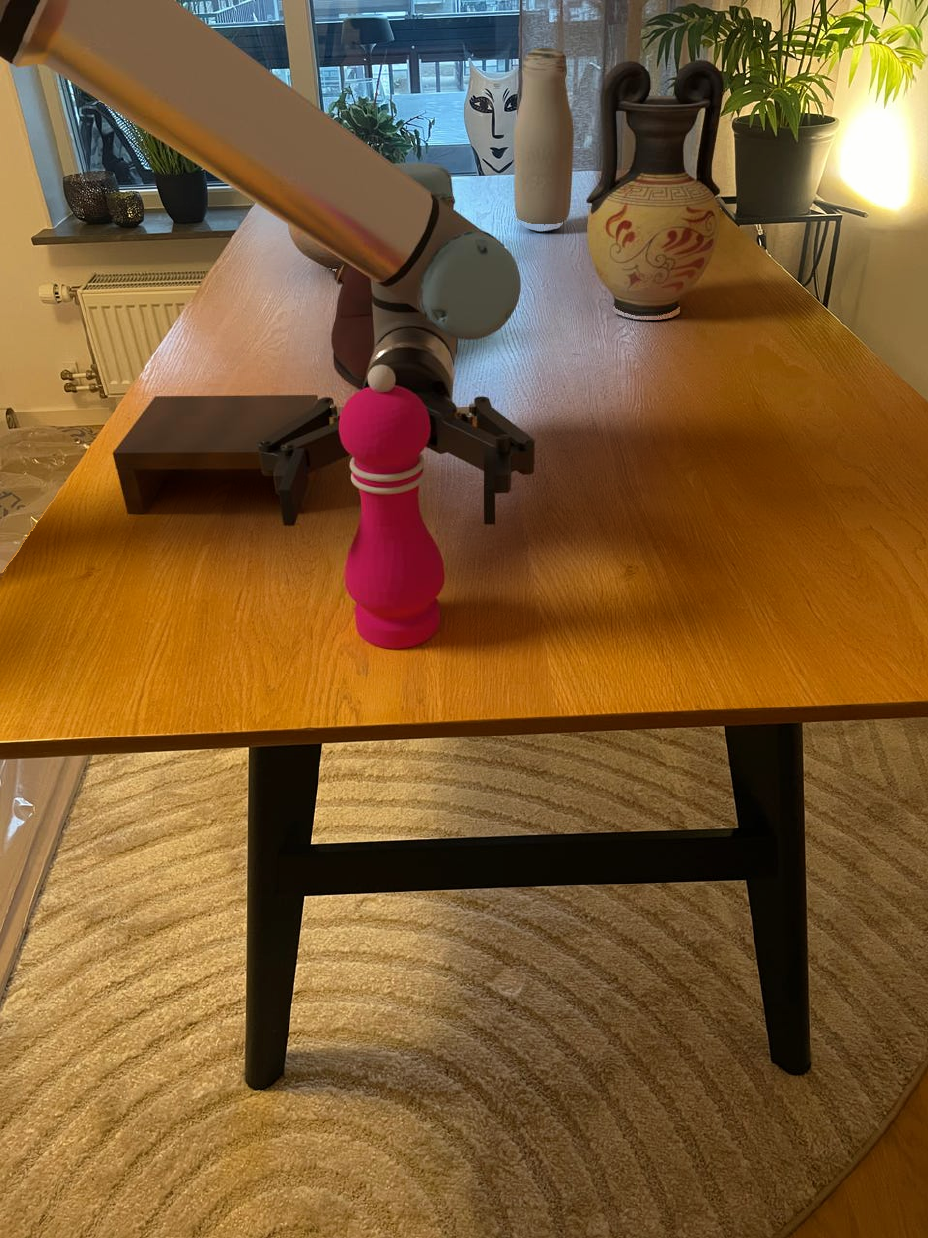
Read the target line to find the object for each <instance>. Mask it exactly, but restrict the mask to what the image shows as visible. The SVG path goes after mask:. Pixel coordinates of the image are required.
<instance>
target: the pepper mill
mask: <svg viewBox="0 0 928 1238" xmlns="http://www.w3.org/2000/svg"><path fill="white" fill-rule="evenodd" d="M395 381H396V379H395V374H394V372H393V370H392V369H391V368H389V367H388V366H386V365H377V366H375V367H373V368H372V369H371V370H370V372H369V374H368V384H369V386H370V387H367V388H364V389H362V388H361V389H360V390H358V391H357V392H355V393H354V394H353V395H352V396H350V397H349V398H348V399H347V400H346V402H345V403H344V405H343V409H342V411H341V415H340V420H339V434H340V438H341V442H342V444H343V446H344V448H345V449H346V451H347V452H348V453H349V454H350V455H349V456H351V457H352V458H350V461H349V469H350V470H351V474H350V480H351V482H352V483H351V484H353V486H355V487H356V488H357V489H358V492H359V496H360V504H361V505H360V507H361V508H360V509H361V510H360V511H361V513H360V518H359V524H358V526H357V529H356V532H355V534H354V537H353V540H352V542H351V545H350V547H349V550H348V553H347V555H346V561H345V565H344V584H345V589H346V591H347V593H348V595H349V596H350V598H351V599H352V600H353V601H354V602H355V607H354V618H355V628H356V629H355V630H356V631H357V634H359V636H360V637H361V639H363V641H365V642H366V643H369V644H371V645H373V646H376V647H380V648H383V649H395V650H396V649H397V650H398V649H407V648H411V647H415V646H418V645H420V644H423V643H425V642H427V641H429V640H430V639H431V638H433V636H434V635H435V634H437V632H438V630H439V628H440V626H441V625H440V624H441V617H440V616H441V615H440V613H441V612H440V603H439V599H438V596H439V595H440V594H441V592H442V591H443V588H444V585H445V579H446V573H445V567H444V560H443V557H442V554H441V552H440V549H439V547H438V544H437V543H436V541H435V539H434V537H433V536H432V534H431V533H430V531H429V530H428V527H427V525H426V524H425V522H424V519H423V517H422V514H421V510H420V502H419V490H420V489H419V488H420V485H421V484H422V483H423V481H424V480H425V478H426V470H425V469H424V466H425V464H426V462H425V457H424V456H423V454H422V452H423V451H424V450H425V448H427V447H426V445H427V443H428V440H429V438H430V431H431V426H430V418H429V414H428V412H427V409H426V407H425V405H424V403H423V402H422V401H421V399H420V398H419V397H418V396H417V395H416V394H414V393H413V392H411V391H410V390H408V389H405V388H403V387H399V386H395Z"/></svg>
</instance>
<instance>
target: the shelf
mask: <svg viewBox="0 0 928 1238" xmlns="http://www.w3.org/2000/svg"><path fill="white" fill-rule="evenodd" d="M318 400H319V395H318V394H291V395H290V394H276V395H275V394H274V395H272V394H271V395H270V394H268V395H264V394H263V395H262V394H261V395H260V394H259V395H258V394H257V395H256V394H255V395H251V394H249V395H155V396H154V397H153V399H152V400H151V401H150V403H149V404H148V405H147V406H146V408H145V409H144V411H143V412H142V413H141V414H140V416H139V417H138V418H137V420H136V421H135V422H134V424H133V425H132V427H130V429H129V430H128V432H127V433H126V434H125V436H124V437H123V438H122V440H121V441H120V442H119V444H118V445H117V447H116V448H115V449H114V450H113V452H112V456H113V461H114V464H115V469H116V472H117V476H118V481H119V483H120V489H121V492H122V497H123V500H124V504H125V508H126V513H127V514H128V515H129V514H135V515H136V514H145V513H146V512H147V510H148V508H149V507H150V505H151V504H152V502H153V500H154V499H155V497H156V496H157V494H158V493H159V491H160V489H161V488H162V486H163V485H164V483H165V481H166V479H167V478H168V476H169V475H170V473H171V471H172V470H261V463H260V457H259V450H258V442H259V441H260V440H262V439H263V438H265V437H267V436H268V435H270V434H272V433H273V432H275V431H276V430H278V429H280V428H281V427H283V426H285V425H286V424H288V423H290V422H291V421H293V420H294V419H296V418H298V417H299V416H301V415H303V414H304V413H306V412H307V411H309V410H311V409H312V408H313V407H314V406H315V404H316V403H317V401H318ZM317 472H318V470H316V471H314V472H311V473H309V474H308V478H309V484H308V487H307V490H306V493H305V496H304V499H303V502H302V505H301V508H300V511H299V514H303V513H304V510H305V508H306V505H307V501H308V499H309V496H310V493H311V490H312V487H313V484H314V482H315V478H316V476H317Z"/></svg>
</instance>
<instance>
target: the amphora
mask: <svg viewBox="0 0 928 1238" xmlns="http://www.w3.org/2000/svg"><path fill="white" fill-rule="evenodd" d="M724 86H725V85H724V78H723V74H722V73H721V71H720V69H719V68H718V67H717V66H716V65H715V64H714V63H712V62H711V61H708V60H705V59H696V60H692V61H689V62H688V63H686V64H684V65H683V66H682V67H681V68H680V69H679V70H678V73H677V74H676V76H675V78H674V85H673V91H674V95H669V94H668V95H650V93H651V90H652V81H651V74H650V72H649V70H648V69H647V68H646V67H645V66H644V65H643V64H642V63H639V62H638V61H632V60H627V61H623V62H620V63H618V64H615V65H614V66H613V67H612V68H611V69H610V70H609V71H608V73H607V74H606V76H605V78H604V79H603V82H602V85H601V93H600V117H601V118H600V119H601V140H602V141H601V142H602V143H601V144H602V146H601V147H602V156H601V157H602V158H601V159H602V160H601V164H602V165H601V173H600V179H599V181H598V184H597V185H596V186H595V187H594V189H593V190H592V191H591V192H590V194H589V195H588V197H587V198H586V204H591V206H590V209H589V211H588V216H587V224H586V225H587V227H586V231H587V233H586V234H587V235H586V236H587V245H588V246H587V247H588V252H589V255H590V258H591V261H592V264H593V268H594V269H595V272H596V274H597V276H598V278H599V280H600V281H601V282H602V284H603V285H604V286H605V287H606V289H607V290H608V291H609V292H610V293H611V295H612V297H613V300H614V301H613V304H614V306H615V308H616V309H618V310H620V311H622V312H624V313H628V314H631V315H635V316H658V315H659V316H660V315H663V314H667V313H670V312H672V311H674V310H676V309H677V308H678V307H679V306H680V305H679V302H680V301H679V300H680V299H681V297H682V296H683V295H684V294H685V293H687V291H689V290H690V289H691V288H693V287H694V285H695V284H696V283H697V282H698V281H699V280H700V278H701V277H702V275H703V274H704V273H705V271H706V270H707V267H708V265H709V264H710V262H711V259H712V257H713V255H714V252H715V250H716V247H717V242H718V239H719V234H720V221H721V220H720V219H721V218H720V216H721V214H720V213H721V212H720V207H719V203H718V200H717V198H716V197H717V196H718V195H720V194H721V189H720V187H718V185H717V184H716V182H715V181H714V180H713V162H714V161H713V160H714V155H715V150H716V143H717V137H718V132H719V126H720V125H719V124H720V119H721V112H722V106H723V99H724V89H725V87H724ZM703 109H704V113H703V114H704V115H703V121H702V126H701V131H700V132H701V133H700V139H699V144H698V145H699V146H698V151H697V160H696V171H695V178H694V177H692V176H691V175H690V174H689V173H688V172H687V171H686V167H685V161H684V160H685V159H684V157H685V156H684V154H685V153H684V146H685V141H686V137H687V135H689V133H690V132H691V130H692V129H693V128H694V126H695V124H696V122H697V119H698V115H699V113H700V111H701V110H703ZM617 112H624V113H625V121H626V124H627V127H628V128H629V129H630V130H631V131H632V132H633V135H634V141H635V142H634V144H635V146H634V152H633V153H634V154H633V159H632V163H631V166H630V168H629V170H628V171H627V172H626V173H625V174H623V175H621V176H620V177H618V178H617V174H618V173H617V171H618V154H619V153H618V151H619V150H618V123H617V120H618V119H617Z"/></svg>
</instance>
